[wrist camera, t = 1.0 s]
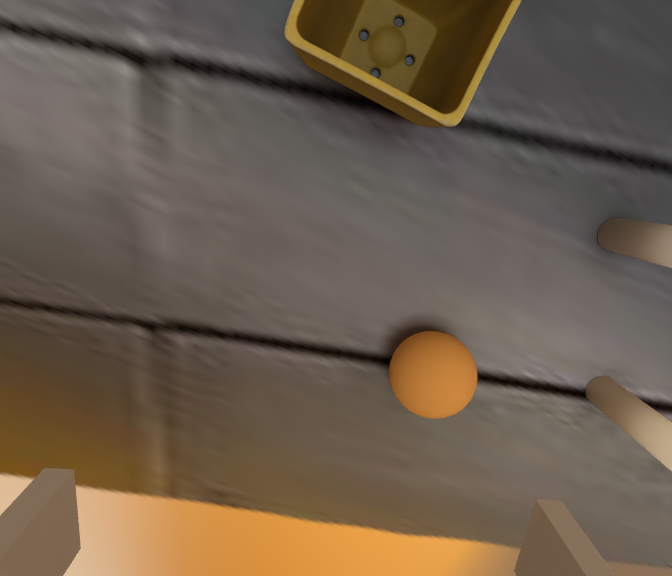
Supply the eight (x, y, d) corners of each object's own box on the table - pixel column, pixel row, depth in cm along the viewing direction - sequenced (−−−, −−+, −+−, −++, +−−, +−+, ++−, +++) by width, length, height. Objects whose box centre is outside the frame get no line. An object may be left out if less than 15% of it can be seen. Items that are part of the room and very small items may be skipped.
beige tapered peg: (592, 246, 29) (696, 275, 21) (605, 214, 29) (717, 230, 20) (622, 253, 29) (736, 284, 21) (636, 221, 29) (759, 240, 21)
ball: (375, 382, 32) (386, 428, 26) (394, 311, 30) (411, 344, 24) (448, 395, 32) (474, 444, 26) (470, 327, 31) (504, 362, 25)
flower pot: (355, -66, 24) (372, -203, 15) (481, 8, 25) (565, -79, 16) (294, 82, 26) (279, 36, 17) (414, 144, 27) (456, 131, 18)
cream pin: (581, 400, 33) (666, 475, 24) (592, 374, 32) (683, 442, 24) (608, 405, 33) (701, 482, 25) (620, 379, 32) (719, 449, 24)
